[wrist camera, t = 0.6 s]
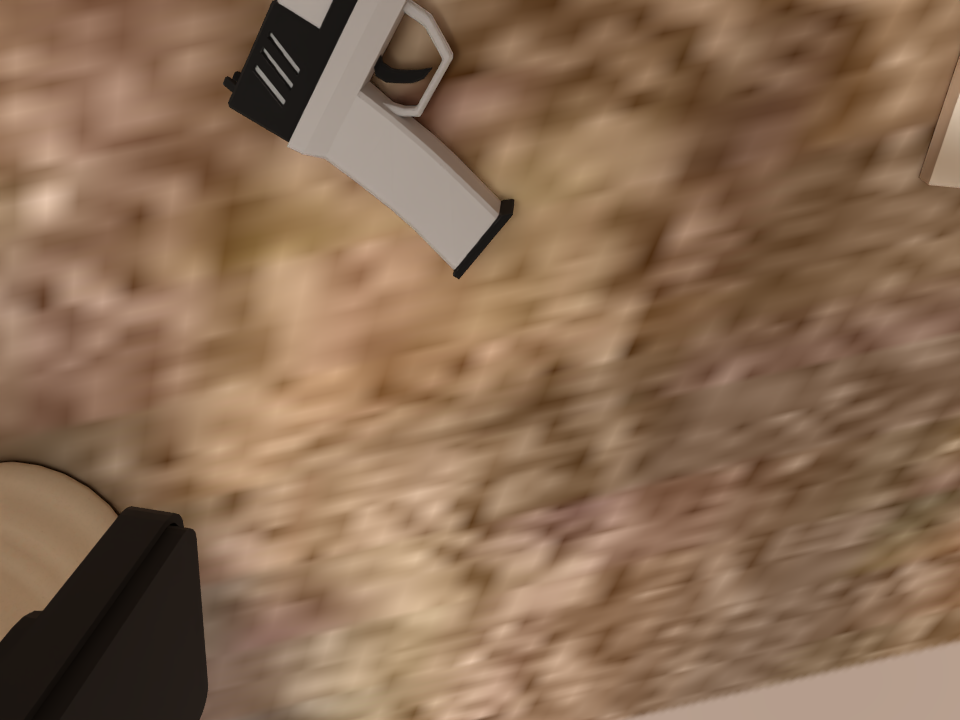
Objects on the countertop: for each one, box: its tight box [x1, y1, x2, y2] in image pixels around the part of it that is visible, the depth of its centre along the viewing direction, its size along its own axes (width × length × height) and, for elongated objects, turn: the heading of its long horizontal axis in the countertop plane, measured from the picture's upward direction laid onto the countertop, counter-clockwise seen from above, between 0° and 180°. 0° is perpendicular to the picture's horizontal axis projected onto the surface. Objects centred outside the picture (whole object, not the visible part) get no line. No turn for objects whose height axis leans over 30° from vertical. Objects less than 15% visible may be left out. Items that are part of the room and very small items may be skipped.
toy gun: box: [223, 0, 514, 279], centre depth 30 cm, size 3×16×12 cm
